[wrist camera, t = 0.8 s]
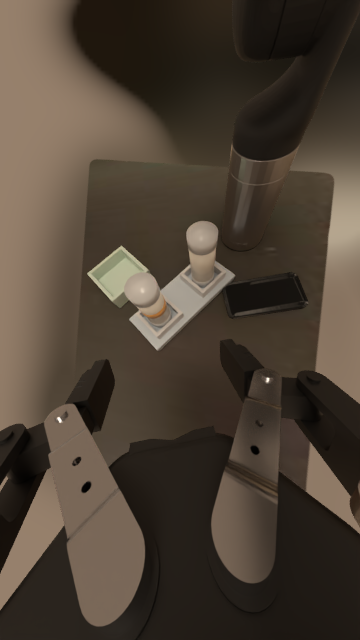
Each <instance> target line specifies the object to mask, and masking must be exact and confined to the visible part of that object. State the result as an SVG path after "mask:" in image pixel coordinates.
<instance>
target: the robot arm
mask: <svg viewBox="0 0 360 640" xmlns="http://www.w3.org/2000/svg"><path fill="white" fill-rule="evenodd" d="M359 12H360V0H233V5H232V25H233V38H234V44H235V49H236V52H237V54H238V56H239V57H240V58H241V59H242V60H244V61H247V62H257V63H258V62H265V61H272V60H278V59H284V58H291V57H296V59H295V61H294V62H293V64H292V65H291V66H290V68H289V69H288V70H287V71H286V72H285V73H284V75H282V77H280V78H279V79H278V80H277V81H276V82H275V83H274V84H273V85H271V86H270V87H269V88H267V89H266V90H265V91H263V92H261V93H260V94H258V95H256V96H255V97H253V98H252V99H251V100H249V101H248V102H247V103H246V104H245V105H244V106H243V107H242V108H241V109H240V111H239V112H238V114H237V117H236V120H235V123H234V131H233V139H232V147H231V156H230V164H229V173H228V182H227V190H226V199H225V207H224V215H223V224H222V233H221V238H222V241H223V243H224V244H225V245H226V246H227V247H229V248H230V249H233V250H237V251H246V250H250V249H252V248H254V247H256V246H257V245H258V244H259V243H260V241H261V239H262V236H263V234H264V232H265V229H266V227H267V224H268V222H269V219H270V217H271V214H272V212H273V210H274V207H275V205H276V202H277V200H278V197H279V195H280V192H281V190H282V187H283V185H284V182H285V180H286V177H287V175H288V173H289V170H290V167H291V165H292V162H293V160H294V157H295V155H296V152H297V150H298V148H299V145H300V143H301V140H302V138H303V135H304V133H305V130H306V129H307V127H308V124H309V123H310V121H311V119H312V117H313V115H314V113H315V111H316V109H317V106H318V104H319V102H320V99H321V97H322V95H323V92H324V90H325V88H326V85H327V83H328V81H329V79H330V76H331V74H332V72H333V70H334V67H335V65H336V63H337V61H338V58H339V56H340V54H341V52H342V50H343V47H344V45H345V43H346V41H347V39H348V36H349V34H350V32H351V30H352V27H353V26H354V23H355V21H356V19H357V17H358V15H359ZM220 359H221V364H222V367H223V369H224V370H225V372H226V374H227V376H228V377H229V379H230V381H231V383H232V384H233V386H234V388H235V390H236V391H237V393H238V395H239V397H240V398H241V400H242V402H243V403H244V405H243V408H242V412H241V416H240V420H239V423H238V427H237V431H236V434H235V438H232V437H230V436H227V435H224V434H219V433H215V430H214V427H213V426H212V427H207V428H202V429H197V430H193V431H191V432H189V433H187V434H185V435H183V436H181V437H179V438H177V439H175V440H160V439H148V440H144V441H139V442H134V443H130V449H129V452H127V453H125V454H124V455H122V456H121V457H119V458H118V459H117V460H116V461H115V462H113V463H112V464H111V465H110V466H109V468H108V466H107V464H106V463H105V461H104V459H103V457H102V455H101V453H100V451H99V449H98V447H97V445H96V443H95V442H94V440H93V438H92V433H93V432H97V431H101V428H102V424H103V421H104V418H105V415H106V411H107V408H108V405H109V402H110V398H111V395H112V392H113V389H114V385H115V379H114V375H113V372H112V369H111V366H110V363H109V361H108V360H107V359H106V360H100V361H95V363H94V365H93V366H92V368H91V369H90V370H87V371H86V372H85V373H84V374H83V375H82V376H81V378H80V380H79V381H78V383H77V385H76V386H75V388H74V390H73V391H72V393H71V395H70V396H69V398H68V400H67V401H66V403H65V405H63V406H60V407H58V408H57V409H55V410H54V411H53V412H51V413H50V414H49V415H48V417H47V418H46V420H45V422H44V423H41V424H39V425H36V426H34V427H32V428H29V429H26V427H25V426H24V425H23V424H15V425H12V426H9V427H7V428H5V429H4V430H2V431H0V485H1V483H2V481H3V480H4V478H5V477H6V476H7V477H8V480H7V482H6V483H5V485H4V487H3V488H2V490H1V492H0V573H1V570H2V568H3V566H4V564H5V561H6V559H7V557H8V555H9V552H10V550H11V548H12V546H13V543H14V541H15V539H16V537H17V535H18V533H19V530H20V528H21V526H22V524H23V521H24V519H25V517H26V515H27V512H28V510H29V508H30V505H31V503H32V501H33V499H34V497H35V495H36V492H37V490H38V488H39V486H40V483H41V481H42V479H43V477H44V475H45V472H46V470H47V469H49V468H51V469H52V474H53V478H54V482H55V486H56V491H57V495H58V499H59V503H60V508H61V512H62V516H63V520H64V527H63V528H62V529H61V531H60V532H59V533H58V535H57V536H56V537H55V539H54V540H53V541H52V543H51V544H50V545H49V547H48V548H47V549H46V550H45V552H44V553H43V554H42V556H41V557H40V559H39V560H38V561H37V562H36V564H35V565H34V567H33V568H32V569H31V570H30V572H29V573H28V574H27V576H26V577H25V578H24V580H23V581H22V582H21V584H20V585H19V586H18V588H17V589H16V590H15V592H14V593H13V594H12V596H11V597H10V598H9V600H8V601H7V602H6V604H5V605H4V606H3V608H2V609H1V610H0V640H360V534H359V533H358V532H357V531H356V530H355V529H353V528H352V527H351V526H350V525H348V524H347V523H346V522H345V521H343V520H342V519H341V518H339V517H338V516H337V515H336V514H334V513H333V512H332V511H330V510H329V509H328V508H326V507H325V506H324V505H322V504H321V503H320V502H319V501H317V500H316V499H315V498H313V497H312V496H311V495H309V494H308V493H307V492H305V491H304V490H303V489H301V488H300V487H299V486H298V485H296V484H295V483H294V482H292V481H291V480H290V479H288V478H287V477H286V476H284V475H283V474H282V473H280V472H279V471H278V467H279V446H280V425H281V418H290V419H294V420H295V422H296V423H297V425H298V426H299V427H300V429H301V430H302V431H303V433H304V434H305V435H306V437H307V438H308V439H309V441H310V442H311V443H312V445H313V446H314V447H315V448H316V450H317V451H318V453H319V454H320V455H321V456H322V458H323V459H324V461H325V462H326V463H327V465H328V466H329V467H330V469H331V470H332V471H333V473H334V474H335V476H336V477H337V478H338V480H339V481H340V482H341V484H342V485H343V486H344V488H345V489H346V490H347V492H348V493H349V495H350V496H351V498H350V508H351V511H352V514H353V516H354V518H355V520H356V521H357V523H358V525H359V527H360V404H359V403H358V402H356V401H355V400H354V399H353V398H351V397H350V396H349V395H348V394H346V393H345V392H344V391H343V390H341V389H340V388H339V387H338V386H336V385H335V384H334V383H333V382H332V381H330V380H329V379H327V377H325V376H323V375H322V374H320V373H317V372H314V371H301V372H299V373H298V376H297V378H285V377H281V376H280V375H279V374H278V373H277V372H275V371H273V370H270V369H265V368H264V367H263V366H262V365H261V364H260V363H259V361H258V360H257V359H256V358H255V357H253V355H252V354H251V353H250V352H249V351H248V350H247V348H245V347H244V346H242V345H240V344H239V345H236V344H235V343H234V342H233V340H232V339H227V340H221V341H220Z"/></svg>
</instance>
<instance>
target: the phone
mask: <svg viewBox="0 0 360 640" xmlns="http://www.w3.org/2000/svg"><path fill="white" fill-rule="evenodd" d="M222 291H223V295H224V300H225V304H226V308H227V313H228V316H229V317H230V318H232V319H237V318H244V317H250V316H257V315H263V314H270V313H276V312H282V311H289V310H295V309H302V308H304V307H305V306H307V305H308V300H307V297H306V295H305V293H304V290H303V288H302V285H301V283H300V280H299V278H298V276H297V275H296V274H295V273H292V272H289V273H284V274H278V275H272V276H266V277H260V278H255V279H249V280H243V281H237V282H231V283H228V284H227V285H226V286H225V287H224V288H223V290H222Z"/></svg>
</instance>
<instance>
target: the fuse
mask: <svg viewBox="0 0 360 640" xmlns="http://www.w3.org/2000/svg"><path fill="white" fill-rule="evenodd" d="M186 235H187V244H188V248H189V256H190V264H191V277H192V281H193V282H194V283H195V284H197V285H198V286H199V287H200V288H205V287H206V286H207V285H208V284H209V283H211V282H212V281H213V280H214V264H215V254H216V246H217V240H218V229H217V227H216V226H215V225H214V224H213V223H211V222H208V221H200V222H196V223H194V224H192V225H191V226H190V227H189V228H188V230H187V234H186Z"/></svg>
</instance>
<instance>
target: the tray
mask: <svg viewBox="0 0 360 640" xmlns="http://www.w3.org/2000/svg"><path fill="white" fill-rule="evenodd" d="M141 272H145V273H149V274H150V272H149V270H148V269H147V268H146V267H145V266H143V265H142V264H141V263H140V262H139V261H138V260H137V259H136V258H135V257H133V256H132V255H131V254H130V253H129V252H128V251H127V250H126V249H124V248H123V247H122V246H121V247H119V248H118V249H117V250H116V251H114V252H113V253H112V254H111V255H110V256H108V257H107V258H106V259H105V260H103V261H102V262H101V263H100V264H98V265H97V266H96V267H95V268H94V269H92V270H91V271H90V272H89V273H87V274H88V275H89V276H90V278H91V279H92V280H93V281H94V282H95V283H96V284H97V285H98V286H99V288H100V289H101V290H102V291H103V292H104V293H105V294H106V295H107V296H108V298H109V299H110V300H111V301H112V302H113V303H114V304H116V305H117V306H118V307H119V308H121V307H122V306H123V305H124V304H125V303H127V302H128V301H129V299H128V298H127V297H126V295H125V293H124V286H125V283H126V282H127V280H128V279H129V278H130V277H131V276H133V275H134V274H137V273H141Z"/></svg>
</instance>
